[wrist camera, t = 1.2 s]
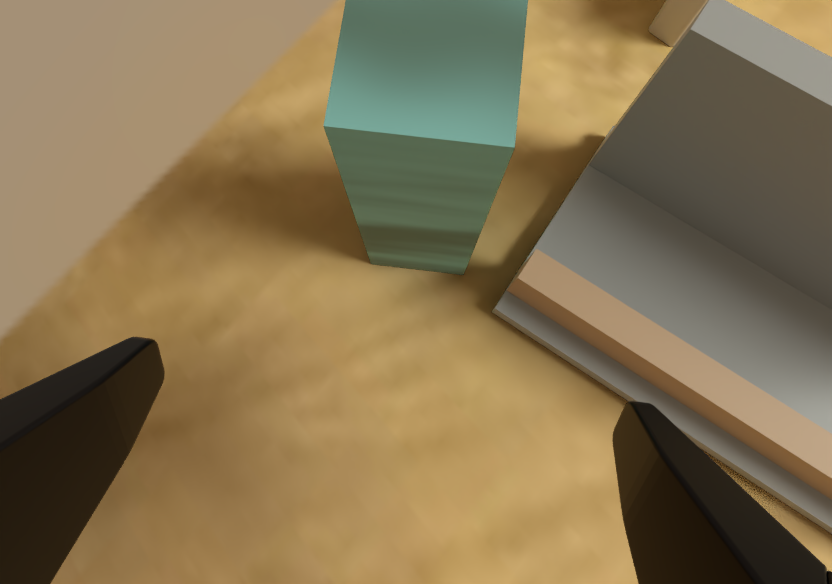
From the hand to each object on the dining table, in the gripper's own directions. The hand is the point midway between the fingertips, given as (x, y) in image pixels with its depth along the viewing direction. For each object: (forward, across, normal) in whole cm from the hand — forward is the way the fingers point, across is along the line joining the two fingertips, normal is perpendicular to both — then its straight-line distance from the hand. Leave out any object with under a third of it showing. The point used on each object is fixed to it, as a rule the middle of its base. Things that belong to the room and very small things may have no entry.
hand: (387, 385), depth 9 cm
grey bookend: (+13, -15, +6) cm, 21 cm away
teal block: (+15, 0, +4) cm, 16 cm away
